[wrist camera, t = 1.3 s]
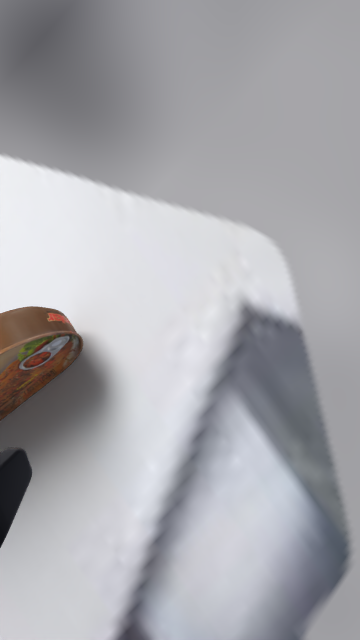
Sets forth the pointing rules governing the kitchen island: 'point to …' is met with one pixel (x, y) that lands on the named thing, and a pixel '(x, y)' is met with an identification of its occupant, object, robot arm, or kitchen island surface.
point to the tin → (33, 352)
